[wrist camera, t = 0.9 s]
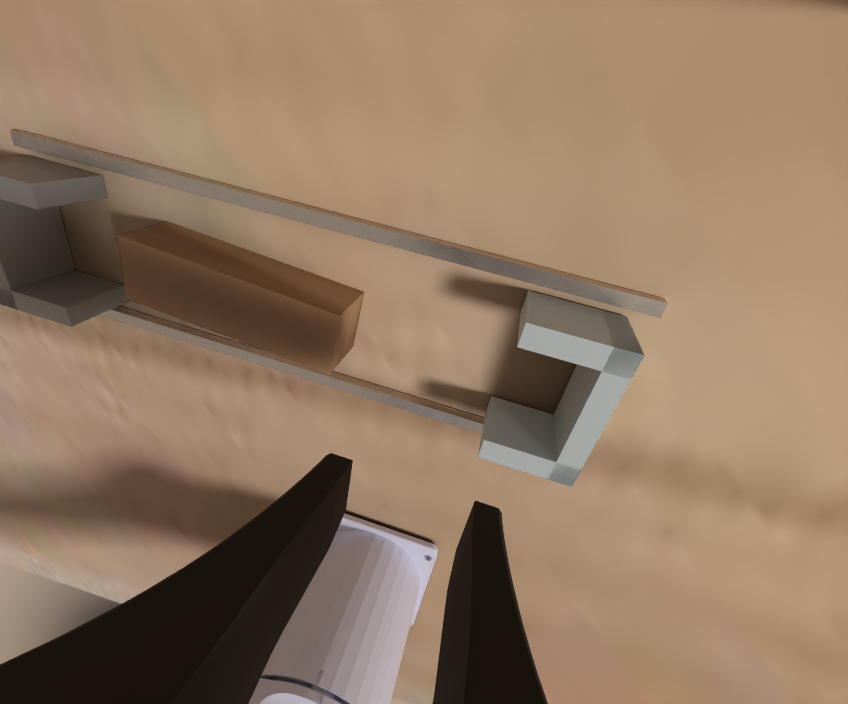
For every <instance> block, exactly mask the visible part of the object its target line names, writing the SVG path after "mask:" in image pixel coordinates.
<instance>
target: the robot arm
mask: <svg viewBox="0 0 848 704" xmlns="http://www.w3.org/2000/svg"><path fill="white" fill-rule="evenodd" d="M352 462H353V460H350V459H347V458H344V457H341V456H338V455H335V454H332V453H331V454H328V455H326V456H325V457H324V458H323V459H322V460H321V461H320V462H319V463H318V464H317V465H316V466H315V467H314V468H313V469H312V470H311V471H310V472H309V473H308V474H306V475H305V476H304V477H303V478H302V479H301V480H300V481H299V482H297V483H296V484H295V485H294V486H293V487H292V488H291V489H290V490H288V491H287V492H286V493H285V494H284V495H282V496H281V497H280V498H279V499H277V500H276V501H275V502H274V503H273V504H271V505H270V506H269V507H268V508H267V509H265V510H264V511H263V512H262V513H260V514H259V515H258V516H256V517H255V518H254V519H252V520H251V521H250V522H248V523H247V524H246V525H244V526H243V527H242V528H240V529H239V530H238V531H236V532H235V533H234V534H232V535H231V536H230V537H228V538H227V539H225V540H224V541H223V542H221V543H220V544H218V545H217V546H215V547H214V548H213V549H211V550H210V551H208V552H207V553H205V554H204V555H202V556H201V557H199V558H197V559H196V560H194V561H193V562H191V563H190V564H188V565H187V566H185V567H184V568H182V569H180V570H179V571H177V572H176V573H174V574H172V575H171V576H169V577H167V578H166V579H164V580H162V581H161V582H159V583H157V584H156V585H154V586H152V587H151V588H149V589H147V590H146V591H144V592H142V593H140V594H139V595H137V596H135V597H133V598H132V599H130V600H128V601H126V602H124V603H123V604H121V605H119V606H117V607H115V608H113V609H111V610H109V611H107V612H106V613H104V614H102V615H100V616H98V617H96V618H94V619H92V620H91V621H89V622H87V623H85V624H83V625H81V626H79V627H77V628H75V629H73V630H71V631H70V632H68V633H66V634H64V635H62V636H60V637H58V638H56V639H53V640H51V641H50V642H47V643H45V644H43V645H41V646H39V647H37V648H34V649H32V650H30V651H28V652H26V653H24V654H22V655H19V656H17V657H15V658H13V659H11V660H9V661H7V662H5V663H3V664H0V704H390V702H391V698H392V694H393V690H394V686H395V683H396V679H397V675H398V671H399V667H400V663H401V659H402V655H403V651H404V647H405V643H406V639H407V635H408V632H409V628H410V626H412V625H413V623H414V620H415V617H416V614H417V612H418V609H419V606H420V603H421V600H422V597H423V594H424V591H425V589H426V586H427V583H428V580H429V577H430V574H431V571H432V568H433V566H434V563H435V560H436V557H437V553H438V548H437V546H436V545H434V544H432V543H430V542H427V541H424V540H421V539H418V538H415V537H412V536H409V535H406V534H403V533H401V532H398V531H395V530H392V529H389V528H386V527H383V526H380V525H377V524H374V523H371V522H369V521H366V520H363V519H360V518H357V517H354V516H351V515H348V514H345V511H346V505H347V497H348V490H349V483H350V476H351V469H352ZM433 704H548V703H547V700H546V697H545V694H544V691H543V688H542V685H541V682H540V679H539V676H538V673H537V670H536V667H535V664H534V661H533V657H532V654H531V651H530V647H529V644H528V640H527V637H526V633H525V630H524V626H523V623H522V619H521V615H520V611H519V607H518V603H517V599H516V595H515V590H514V586H513V582H512V577H511V573H510V568H509V563H508V557H507V552H506V546H505V540H504V533H503V524H502V513H501V511H500V510H499V508H496V507H493V506H490V505H487V504H484V503H481V502H478V501H475V502H474V505H473V507H472V510H471V513H470V515H469V518H468V520H467V523H466V526H465V528H464V531H463V533H462V536H461V539H460V541H459V544H458V546H457V549H456V554H455V558H454V562H453V567H452V571H451V576H450V581H449V585H448V590H447V597H446V605H445V613H444V621H443V629H442V637H441V645H440V653H439V661H438V669H437V677H436V685H435V693H434V699H433Z"/></svg>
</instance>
